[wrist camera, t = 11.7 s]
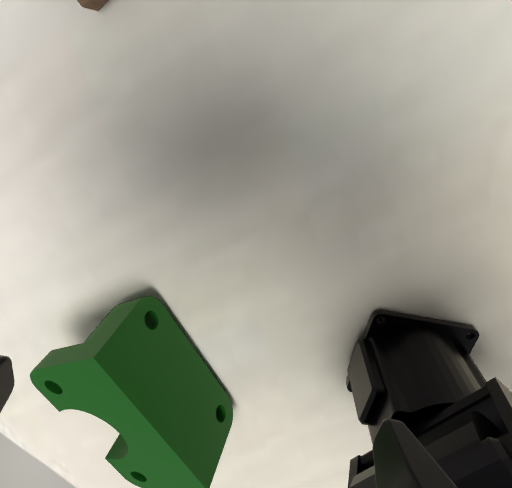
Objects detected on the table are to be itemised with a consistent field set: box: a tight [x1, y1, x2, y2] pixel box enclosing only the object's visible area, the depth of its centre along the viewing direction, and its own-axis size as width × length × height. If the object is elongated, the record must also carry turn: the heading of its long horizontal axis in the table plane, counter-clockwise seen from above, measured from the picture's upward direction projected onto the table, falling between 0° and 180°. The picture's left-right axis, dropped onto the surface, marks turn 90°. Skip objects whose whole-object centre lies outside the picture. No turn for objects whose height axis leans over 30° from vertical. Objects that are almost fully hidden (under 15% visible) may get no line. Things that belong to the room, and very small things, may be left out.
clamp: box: [30, 296, 233, 488], centre depth 24 cm, size 12×6×9 cm, turn 21°
